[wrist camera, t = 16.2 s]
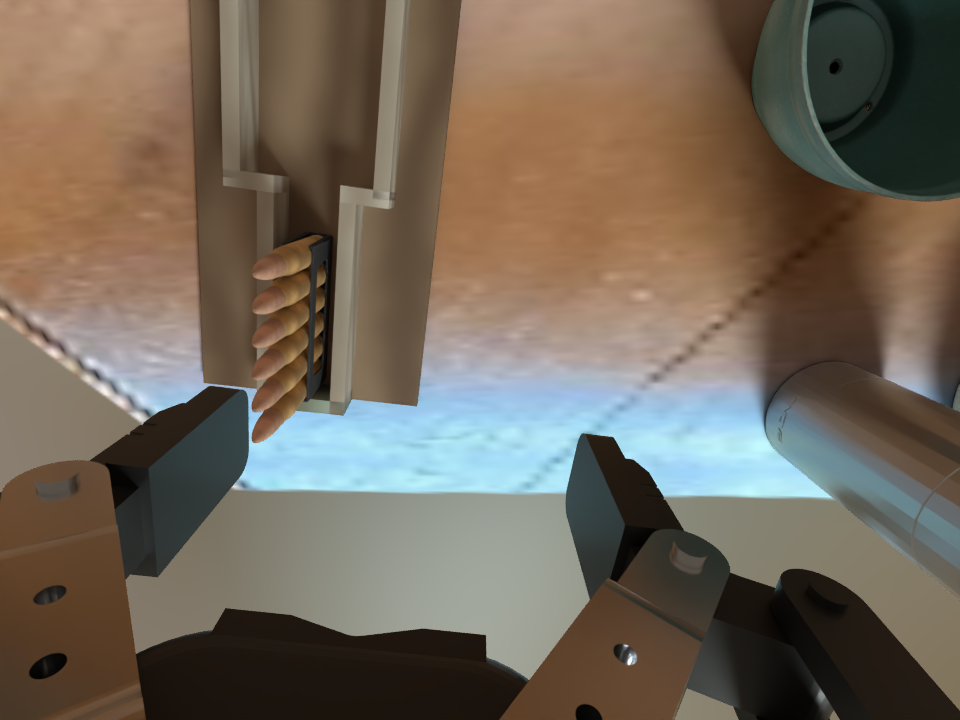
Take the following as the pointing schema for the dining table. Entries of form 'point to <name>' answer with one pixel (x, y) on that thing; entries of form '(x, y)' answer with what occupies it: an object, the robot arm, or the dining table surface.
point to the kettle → (957, 400)
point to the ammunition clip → (291, 328)
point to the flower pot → (865, 92)
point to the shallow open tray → (322, 176)
